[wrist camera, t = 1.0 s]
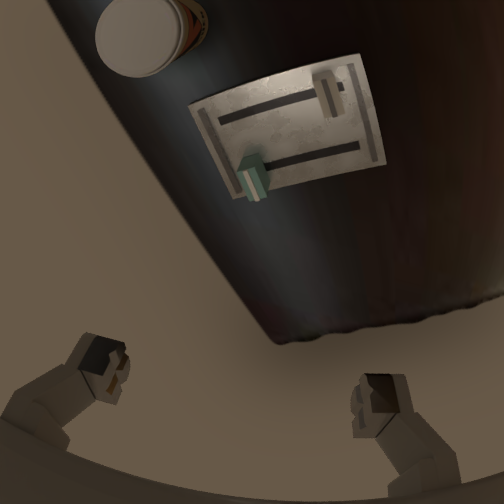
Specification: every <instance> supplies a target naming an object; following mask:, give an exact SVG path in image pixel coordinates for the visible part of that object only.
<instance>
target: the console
mask: <svg viewBox="0 0 504 504" xmlns="http://www.w3.org/2000/svg"><path fill="white" fill-rule="evenodd" d="M331 70H332V73H333V75H334V77H335V80H336V83H337V87H338V90H339V93H340V96H341V100H342V103H343V106H344V110H345V113H346V114H343V115H339V116H338V117H335V118H333V117H330V118H326V119H324V115H323V112H322V109H321V106H320V103H319V100H318V97H317V94H316V91H315V88H314V85H313V82H312V75H315V74H319V73H323V72H327V71H331ZM188 108H189V110H190V112H191V114H192V116H193V118H194V120H195V122H196V124H197V126H198V128H199V130H200V132H201V134H202V137H203V139H204V141H205V143H206V145H207V147H208V149H209V151H210V153H211V155H212V157H213V159H214V161H215V163H216V165H217V167H218V169H219V171H220V174H221V176H222V178H223V180H224V182H225V184H226V186H227V188H228V190H229V192H230V194H231V196H232V198H233V199H236V198H240V197H244V196H247V195H246V193H245V190H244V188H243V186H242V184H241V182H240V180H239V177H238V175H237V173H236V172H237V169H238V167H239V164H240V162H241V160H242V158H245V157H248V156H252V155H255V154H259V155H260V157H261V159H262V162H263V164H264V167H265V169H266V172H267V174H268V177H269V179H270V186H269V190H272V189H276V188H280V187H284V186H288V185H292V184H297V183H301V182H305V181H310V180H314V179H319V178H323V177H328V176H332V175H337V174H341V173H346V172H351V171H356V170H360V169H365V168H370V167H375V166H380V165H385V164H387V163H386V158H385V153H384V148H383V143H382V138H381V133H380V129H379V124H378V120H377V116H376V111H375V107H374V103H373V99H372V95H371V92H370V88H369V84H368V80H367V77H366V73H365V70H364V66H363V63H362V60H361V57H360V53H358V52H355V53H350V54H345V55H341V56H336V57H332V58H327V59H323V60H319V61H315V62H311V63H307V64H304V65H300V66H296V67H293V68H289V69H286V70H282V71H279V72H276V73H272V74H269V75H266V76H263V77H260V78H257V79H254V80H251V81H248V82H245V83H242V84H239V85H236V86H233V87H230V88H228V89H225V90H222V91H220V92H217V93H214V94H212V95H209V96H207V97H204V98H201V99H199V100H196V101H194V102H192V103H190V104H189V105H188Z"/></svg>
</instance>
